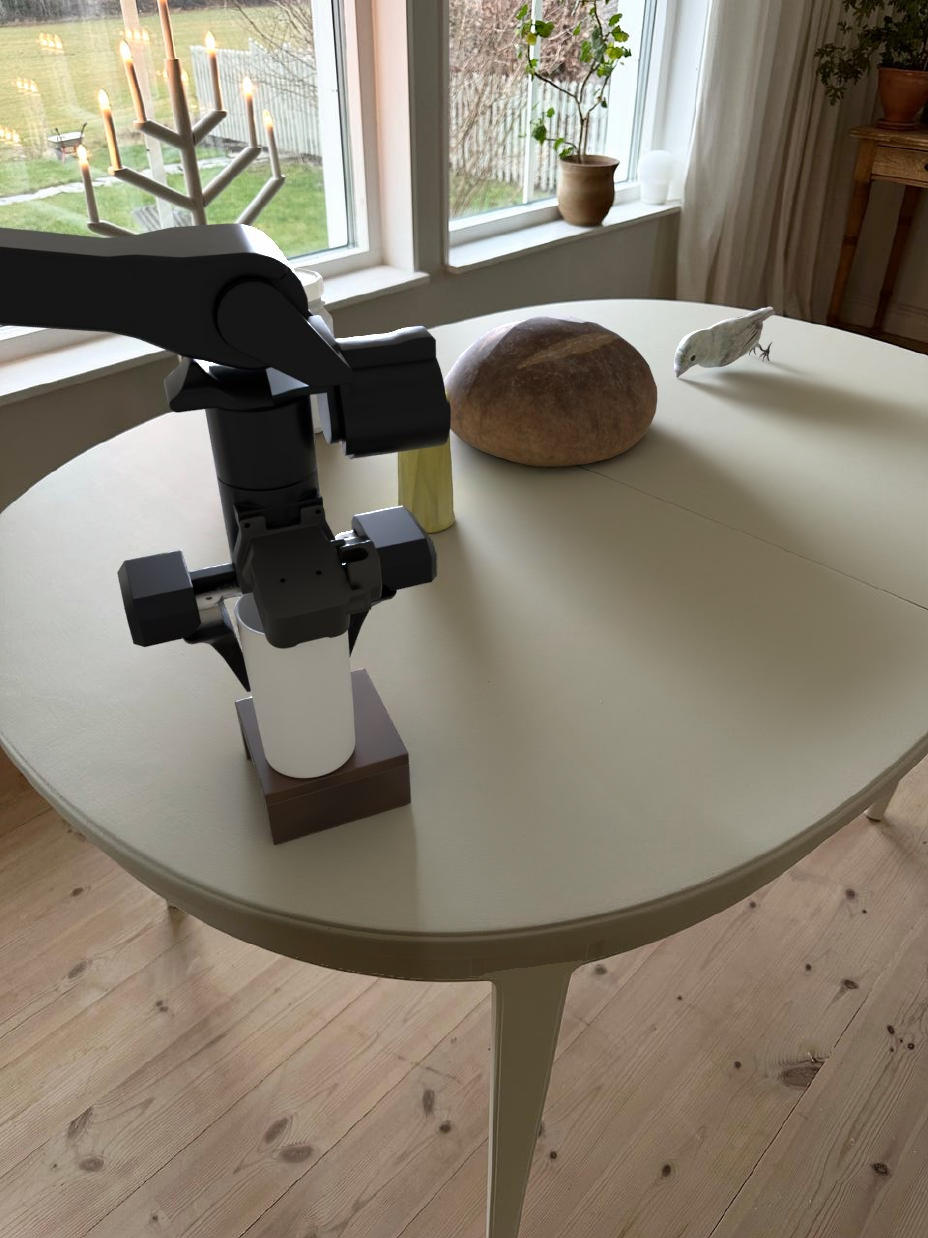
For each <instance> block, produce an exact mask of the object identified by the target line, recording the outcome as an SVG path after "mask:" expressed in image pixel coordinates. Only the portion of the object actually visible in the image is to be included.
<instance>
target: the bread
mask: <svg viewBox="0 0 928 1238" xmlns="http://www.w3.org/2000/svg"><path fill="white" fill-rule="evenodd" d="M443 381H444V386H445V388H447V390H448V391H449V395H450V407H451V426H450V431H451V432H452V433H453V434H454V435H455V436H457V437H458V438H459V439H460V440H461V441H463V442H464V443H466V444H468V445H469V446H471V447H473V448H475V449H477V450H479V451H480V452H483V453H485V454H489V455H491V456H494V457H497V458H500V459H504V460H506V461H510V462H513V463H517V464H522V465H526V466H532V467H539V468H541V467H543V468H544V467H545V468H551V467H552V468H558V467H571V466H572V467H573V466H580V465H588V464H593V463H596V462H600V461H603V460H608V459H612V458H614V457H616V456H618V455H620V454H623V453H625V452H627V451H628V450H630V449H631V448H632V447H633V446H634V445H636V444H638V443H639V441H640V440H641V439H642V438H643V437H644V435H645V434H646V433H647V432H648V430H649V428H650V426H651V425H652V423H653V421H654V418H655V416H656V413H657V405H658V386H657V384H656V381H655V378H654V374H653V372H652V369H651V367H650V364H649V363H648V362H647V360H646V359H645V357H644V356H643V355H642V354H641V353H640V352H639V350H638V349H637V348H636V347H635V346H633V345H632V343H630V342H629V341H627V339H624V338H623V337H622V336H621V335H620V334H618V333H617V332H615V331H612V330H611V329H608V328H607V327H604V326H603V325H601V324H599V323H597V322H593V321H590V320H589V321H588V320H583V319H582V318H577V317H574V316H566V317H559V318H556V317H551V316H536V317H531V318H528V319H523V320H518V321H512V322H507V323H504V324H501V325H499V326H496V327H493V328H491V329H490V330H488V331H486V332H484V333H483V334H481V336H480V337H478V338H477V339H476V340H474V341H473V342H472V343H471V344H470V345H469V346H468V347H467V348H466V349H465V350H464V351H463V352H462V353H461V354H460V355H459V357H458V358H457V360H456V361H455V362H454V364H453V365H452V367H451V368H450V370H449V372H448V373H447V374H446V376H445V377H444V379H443Z"/></svg>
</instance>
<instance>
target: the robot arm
mask: <svg viewBox="0 0 928 1238" xmlns="http://www.w3.org/2000/svg"><path fill="white" fill-rule="evenodd" d="M292 268H293V267H292V266H291V264H290V263H289V261H288V260H287V257H285V256H284V254H283V252H282V251H281V250H280V249H279V247H278V246H277V245H276V244H275V242H274V241H273V240H272V239H271V238H270V237H269V236H268V235H266V233H264V232H263V231H261V230H258V229H257V228H256V227H253V226H249V225H246V224H242V223H235V222H234V223H233V222H231V223H230V222H227V223H226V222H225V223H213V224H200V225H199V224H198V225H185V226H184V225H183V226H172V227H166V228H162V229H161V228H160V229H157V230H156V229H155V230H152V231H148V232H147V231H146V232H143V233H139V234H133V235H126V236H125V235H123V236H110V237H101V236H91V235H81V234H80V235H79V234H70V233H61V232H52V231H40V230H30V229H20V228H12V227H0V326H5V327H6V326H7V327H21V328H23V327H24V328H36V329H51V330H69V331H82V332H98V333H99V332H100V333H109V334H110V333H111V334H115V335H119V336H123V337H129V338H133V339H136V340H140V341H142V342H145V343H147V344H150V345H152V346H155V347H157V348H160V349H162V350H165V351H166V352H169V353H172V354H175V355H177V356H180V357H183V358H182V360H181V362H180V363H179V364H178V365H177V366H176V367H175V368H174V369H172V371H171V372H169V374H168V375H167V376H165V378H164V379H163V385H164V391H165V395H166V400H167V405H168V408H169V409H170V410H169V411H171V412H174V413H176V414H177V413H178V414H179V413H186V412H195V411H201V410H204V412H205V417H206V423H207V429H208V436H209V440H210V446H211V451H212V456H213V458H212V459H213V464H214V469H215V475H216V480H217V481H216V482H217V486H218V487H217V488H218V492H219V497H220V504H221V509H222V515H223V521H224V528H225V531H226V532H225V533H226V538H227V544H228V549H229V555H230V561H231V562H228V563H222V564H217V565H212V566H208V567H203V568H198V569H193V570H189V569H188V566H187V563H186V560H185V557H184V553H183V550H182V549H177V550H171V551H165V552H161V553H156V554H151V555H145V556H141V557H136V558H131V559H125V560H124V561H123V562H122V564H121V566H120V567H119V569H118V570H117V573H116V574H117V578H118V583H119V589H120V593H121V598H122V603H123V604H122V605H123V609H124V613H125V618H126V621H127V624H128V629H129V632H130V636H131V640H132V643H133V645H136V646H139V647H142V648H148V647H152V646H156V645H161V644H165V643H170V642H175V641H179V640H183V642H184V643H186V644H189V645H197V644H207V645H210V646H211V647H212V648H213V649H214V650H215V651H216V652H217V653H218V654H219V655H220V656H221V657H222V658H223V661H225V663H226V664H227V666H228V667H229V668H230V670H231V671H232V673H233V674H234V676H235V677H236V679H237V680H238V681H239V683H240V684H241V685H242V687H243V689H244V690H245V692H246V693H251V689H250V684H249V679H248V675H247V670H246V666H245V661H244V656H243V652H242V647H241V643H240V641H239V638H238V636H237V634H236V630H235V628H234V625H233V623H232V620H231V617H230V614H229V612H228V609H227V606H226V603H225V600H228V599H232V598H237V597H240V596H243V595H247V594H252V593H253V596H254V600H255V603H256V606H257V609H258V613H259V616H260V619H261V622H262V625H263V629H264V633H265V637H266V639H267V641H268V642H269V643H270V644H271V645H272V646H274V647H276V648H280V649H286V648H291V647H295V646H296V645H298V644H300V643H304V642H308V641H313V640H317V639H321V638H325V637H329V638H333V637H337V636H340V635H342V634H344V633H345V632H346V631H347V630H348V641H349V656H350V657H351V656H352V654H353V651H354V648H355V645H356V642H357V640H358V637H359V634H360V632H361V629H362V626H363V624H364V622H365V620H366V618H367V616H368V615H369V612H370V611H372V608H373V607H375V606H376V605H379V604H380V603H383V602H385V601H390V600H392V599H393V598H394V597H395V596H396V595H397V593H398V591H399V590H403V589H408V588H413V587H417V586H422V585H425V584H430V583H433V582H434V581H435V579H436V578H437V577H438V553H437V551H436V546H435V544H434V541H433V539H432V538H431V536H430V535H429V533H426V531H425V530H424V529H423V527H422V526H421V524H420V523H419V522H418V520H417V519H416V518H415V516H414V515H413V513H412V512H410V511H409V510H408V509H406V508H405V507H404V506H399V507H398V506H394V507H390V508H389V507H388V508H384V509H378V510H374V511H369V512H364V513H359V514H354V515H353V516H352V518H351V519H350V525H351V527H350V528H351V530H350V531H346V532H341V533H339V534H337V535H336V536H335V534H334V533H333V530H332V529H331V527H330V524H329V523H328V521H327V518H326V517H327V516H326V509H325V507H324V506H325V505H324V497H323V495H322V494H321V488H320V479H319V478H320V477H319V468H318V467H319V466H318V457H317V449H316V439H315V437H316V436H315V433H314V427H313V417H312V407H311V397H310V395H314V394H317V403H318V410H319V416H320V421H321V426H322V430H323V431H322V434H323V437H324V439H325V441H326V443H327V444H328V445H335V444H339V443H340V442H341V446H342V450H343V454H344V456H345V457H347V458H348V459H349V460H355V459H363V458H369V457H376V456H382V455H387V454H395V453H396V454H397V453H398V452H403V451H409V450H416V449H423V448H429V447H436V446H443V445H445V444H446V443H447V440H448V438H449V433H450V434H451V429H450V426H451V407H450V403H449V401H448V400H447V399H446V392H445V386H444V377H443V373H442V368H441V366H440V363H439V361H438V358H437V339H436V338H435V337H434V336H433V335H432V334H431V332H430V331H428V329H427V328H426V327H424V326H423V325H420V326H419V325H418V326H409V327H403V328H401V329H397V330H395V331H392V332H388V333H380V334H370V335H363V336H353V337H345V338H336V337H335V335H334V336H333V335H332V333H331V332H330V330H329V329H328V327H327V326H326V324H325V323H324V321H323V319H322V318H321V317H320V316H314V315H313V314H312V313H311V312H310V311H309V310H308V298H307V295H306V293H305V290H304V288H303V285H302V283H301V280H300V279H299V278H298V276H297V275H296V273H295V272H294V270H293V269H292Z"/></svg>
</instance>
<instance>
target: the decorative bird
mask: <svg viewBox="0 0 928 1238" xmlns="http://www.w3.org/2000/svg"><path fill="white" fill-rule="evenodd" d="M775 315H776V311H775V310H774V307H773V306H767V307H761V308H759V309H756V310H753V311H751V312H749V313H747V314H745V315H742V316H736V317H732V318H727V319H723V320H720V321H718V322H716V323H714V324H713V325H711V326H709V327H707V328H703V329H698V330H695V331H692V332H690V333H688V334H687V335H685V336H684V337H683V338H682V339H681V341H680V342H679V344H678V346H677V348H676V350H675V354H674V363H673V365H674V366H673V369H674V374H675V377H676V378H679V377H680V376H682V375H683V374H684V373H686V372H687V371H689V369H691V368H692V367H695V366H696V365H698V366H699V367H701V368H705V369H712V368H714V369H715V368H723V367H726V366H729V365H730V364H732V363H734V362H735V361H737V360H739V359H740V358H741V357H744V356H746V355H747V354H748V356H749V357H750V356H751V352H753V354H754V355H755V356H757V354H756V349H757V348H758V349H759V350H760V351H761V352H762V353H760V355H759V357H758V358H759V359H760V358H761V357H762V358H761V359H762V362H764V360H765V358H766V360H767V361H768V363H769V362H770V357H769V355H770V352H771V350H770V348H771V346H772V345H773V341H771V342H770V343H769V344H768V346H767V347H766V348H765V349H763V347H762V345H761V344H760V343H759V341H760V339H761V336H762V331H763V327H764V323H763V322H764V321H766V320H768V319H769V318H770V317H773V316H775Z"/></svg>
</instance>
